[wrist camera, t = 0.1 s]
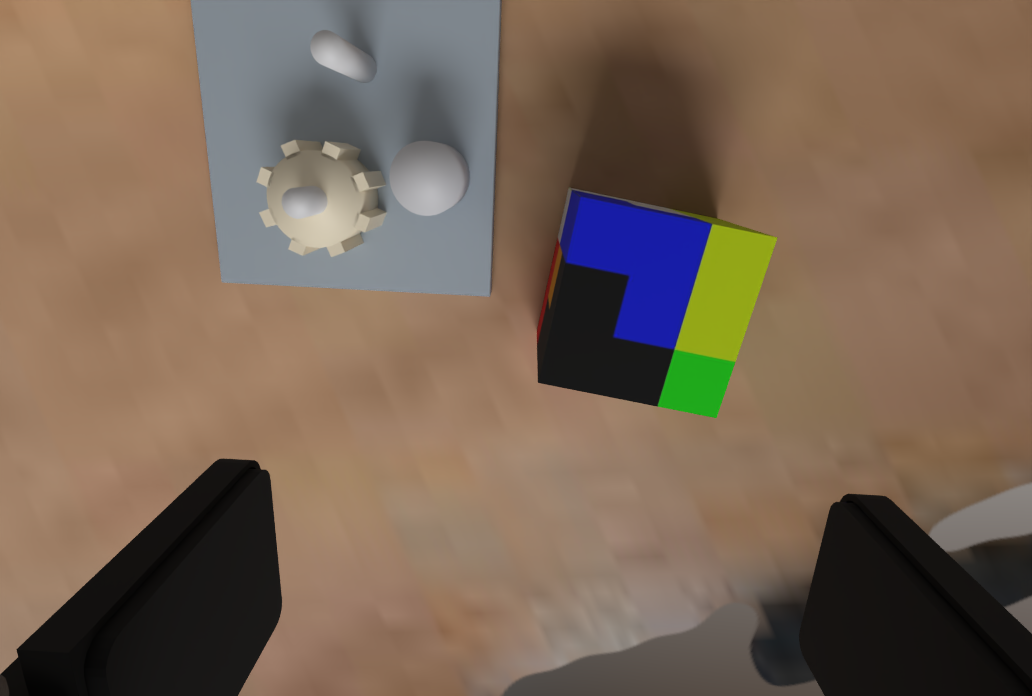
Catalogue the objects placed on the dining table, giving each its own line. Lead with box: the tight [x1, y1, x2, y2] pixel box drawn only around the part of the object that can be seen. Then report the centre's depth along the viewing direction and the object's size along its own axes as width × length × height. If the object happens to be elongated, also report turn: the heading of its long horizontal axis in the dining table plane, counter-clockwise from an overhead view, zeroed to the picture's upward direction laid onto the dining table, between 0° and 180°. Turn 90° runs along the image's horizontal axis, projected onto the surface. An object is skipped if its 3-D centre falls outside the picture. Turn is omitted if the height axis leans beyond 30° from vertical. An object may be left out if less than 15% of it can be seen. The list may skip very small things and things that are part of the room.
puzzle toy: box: [537, 187, 777, 418], centre depth 35 cm, size 10×10×10 cm
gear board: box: [191, 0, 502, 297], centre depth 34 cm, size 19×18×8 cm
